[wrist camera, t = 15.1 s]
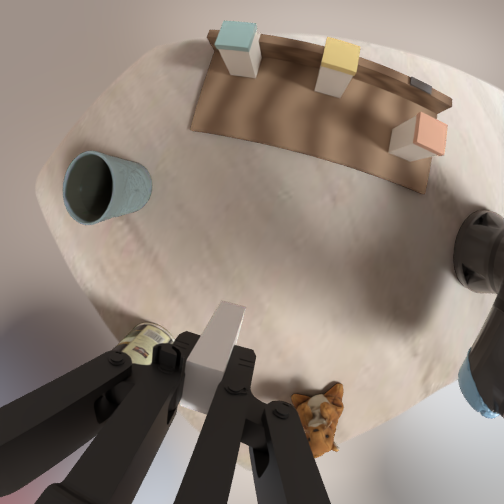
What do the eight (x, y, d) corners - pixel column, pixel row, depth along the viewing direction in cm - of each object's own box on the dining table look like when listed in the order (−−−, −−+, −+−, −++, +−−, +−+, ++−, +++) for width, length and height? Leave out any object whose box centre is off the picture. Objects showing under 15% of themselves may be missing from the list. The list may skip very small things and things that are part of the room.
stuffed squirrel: (342, 378, 45) (355, 427, 33) (342, 425, 48) (350, 471, 35) (289, 386, 47) (289, 437, 34) (296, 432, 49) (296, 479, 36)
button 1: (414, 138, 35) (447, 125, 25) (410, 162, 35) (444, 155, 26) (391, 128, 35) (420, 111, 25) (387, 153, 36) (416, 141, 26)
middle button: (344, 76, 34) (360, 46, 24) (340, 99, 35) (356, 72, 25) (318, 69, 34) (327, 36, 24) (313, 91, 35) (321, 61, 25)
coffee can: (135, 362, 50) (101, 402, 36) (128, 318, 48) (86, 353, 34) (181, 372, 49) (153, 419, 35) (177, 326, 47) (143, 370, 33)
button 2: (262, 57, 35) (256, 23, 25) (256, 79, 36) (247, 47, 26) (236, 54, 35) (223, 20, 25) (229, 75, 36) (214, 44, 26)
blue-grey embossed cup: (163, 204, 43) (123, 208, 31) (116, 225, 44) (72, 236, 33) (145, 148, 41) (104, 136, 29) (101, 173, 43) (55, 171, 31)
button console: (435, 108, 34) (453, 98, 28) (422, 194, 37) (441, 194, 31) (218, 47, 36) (209, 28, 30) (192, 130, 40) (177, 121, 33)
